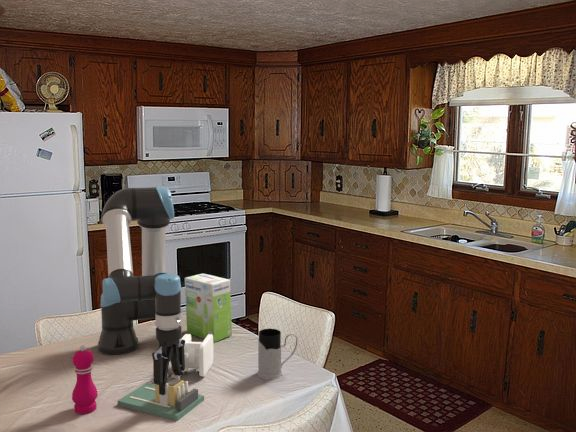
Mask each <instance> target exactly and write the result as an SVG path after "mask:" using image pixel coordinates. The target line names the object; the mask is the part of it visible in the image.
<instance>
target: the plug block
mask: <svg viewBox="0 0 576 432" xmlns="http://www.w3.org/2000/svg"><path fill="white" fill-rule="evenodd" d="M166 383H168V388H169V404H168V405H172V406H176V405H177V387H178V386H179V387H180V398H181V384H184V385H185V380H183V379H180V380H179V379H175V378H171V376H167V382H166ZM155 398H156V402H159V403H160V394H159V385H157V384H155Z"/></svg>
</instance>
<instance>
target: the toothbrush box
mask: <svg viewBox="0 0 576 432" xmlns="http://www.w3.org/2000/svg"><path fill="white" fill-rule="evenodd" d="M184 287H185V288H184V290H185V291H184V293H185V294H184V295H185V311H186V312H185V314H186V315H185V316H186V334H191V336H196V337H197V338H201V339H203V340H204V339H205V338H206V337H207V335H208V334H212V335H213V343H216V342H218V341H220V340H223V339H226V338H229V337H231V336H233V332H232V331H233V328H232V300H231V297H232V294H231V293H232V292H231V279H228V278H224V277H219V276H216V275H212V274H207V273H199V274H195V275H191V276H186V277H184Z"/></svg>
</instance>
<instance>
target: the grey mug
mask: <svg viewBox="0 0 576 432" xmlns="http://www.w3.org/2000/svg"><path fill="white" fill-rule="evenodd" d="M281 335H282V333H281V330H279V329H276V328H263V329H261V330H259V331H258V338H257V339H258V345H257V346H258V348H257V351H258V353H257V355H258V361H257V363H258V365H257V366H258V370H257V373H256V375H257V377H259V378H261V379H264V380H275V379H276V380H277V379H278V378H281V377H282V376H283V372H282V368H283V365H284V364H285V363H286V362H287V361H288V360H290V358H292V356H293V355H294V354H295V352H296V350H297V347H298V337H297V336H296V335H295V333H289V334H287V335H285V338H284V344H283V345H281V343H282V342H281V338H282V337H281ZM289 336H294V337H295V339H296V340H295V345H294V349H293V351H292V352H291V353H290V355H289V356H288V357H287V358H286V359H284V360H283V361H282V348H284V347H285V346H286V345H287V339H288V337H289Z"/></svg>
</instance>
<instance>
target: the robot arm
mask: <svg viewBox="0 0 576 432" xmlns="http://www.w3.org/2000/svg"><path fill="white" fill-rule="evenodd" d="M101 218H102V219H101V221H102V224H103V225H104V227H105V234H106V250H107V251H106V256H107V273H108V274H107V276H108V277H107V278H103V279H102V293H101V295H100V313H101V332H100V334H99V335H100V336H99V339H98V342H97V351H98V352H99V353H101V354H103V355H112V356H113V355H122V354H128V353H131V352H134V351H135V350H137V349H138V348H139V338H138V337H137V334H136V330H135V327H134V321H140V320H152V319H153V320H154V319H155V327H156V328H155V339H156V341H157V342H158V348H157V351H156V352H154V351H153V352H152V353H151V357H152V362H153V367H152V368H153V369H152V370H153V372H152V373H153V376H152V377H153V384H157V385H159V394H160V403H161V404H165V405H168V404H169V388H168V383H166V382H167V377H168V374H169V367H170V366H171V370H172V374H171V376H170V378H175V379H179V380H181V376H180V375H182V376H183V375H184V372H185V371H184V370H185V354H184V346H185V340H182V337H183V336H182V335H183V334H182V299H181V298H182V296H181V295H182V293H181V290H182V285H181V277H180V276H179V275H177V274H176V273H169V272H166V229H167V227H168V226H170V224H171V221H170V220H173V219H174V218H175V208H174V202H173V198H172V193H171V190H170V189H169V188H168V187H159V186H155V187H154V186H153V187H152V186H151V187H125V188H122V189H120V190H117V191H115V192H114V194H112V195H111V196H110V197H109V198H108V200H107V201H106V203H104V207H103V209H102V217H101ZM132 221H137V226H138V227H140V228H141V272H142V273H141V275H137V276H134V269H133V256H132V246H131V234H130V224H131V223H132ZM180 365H181V366H180ZM182 371H184V372H182Z"/></svg>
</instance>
